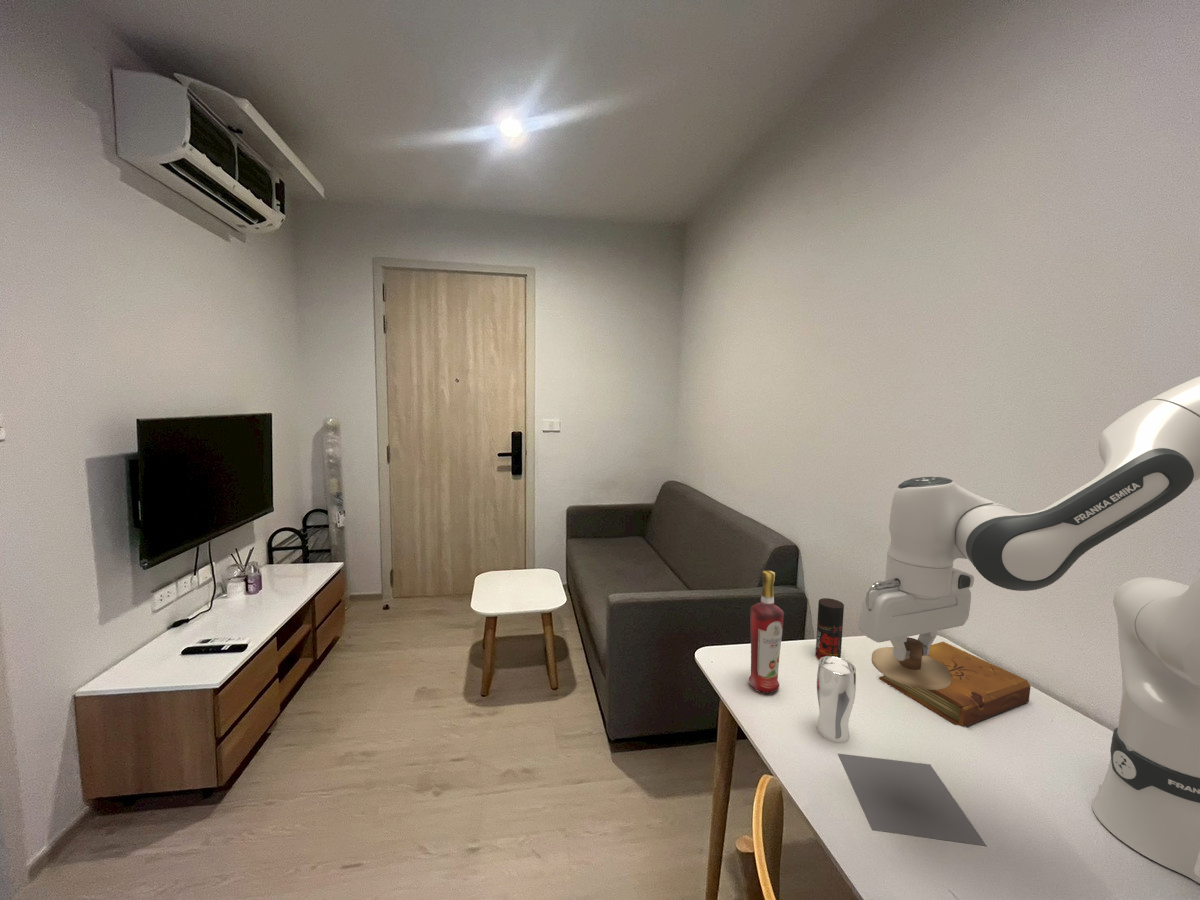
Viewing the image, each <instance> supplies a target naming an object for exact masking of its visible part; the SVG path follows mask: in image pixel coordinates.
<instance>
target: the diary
mask: <svg viewBox="0 0 1200 900" xmlns="http://www.w3.org/2000/svg"><path fill="white" fill-rule="evenodd" d="M927 656H929V657H931V658H933V659H935V660H937V661H938V662H940V663H941V664H943V665H944V666H945V667H946V668H947V669H948V670H949V672H950V673H951V683H950V685H949V686H948V687H946V688H944V689H938V690H928V689H920V688H915V687H911V686H908V685H905V684H902V683H899V682H897V681H895V680H892V679H890V678H889V677H887V676H885V675H884V674H883V675H882V676H879V677H878V680H879V681H882V682H883V683H885V684H887V685H888V686H890V687H892V688H893V689H895V690H897V691H898V692H899V693H901V694H903V695H905V696H906V697H908V698H909V699H911V700H913V701H914V702H916V703H918V704H920V705H921V706H923V707H925V708H926V709H928V710H929V711H931V712H933V713H935V714H936V715H938V716H939V717H941V718H942V719H944V720H946V721H947V722H949V723H951V724H952V725H954V726H961V727H962V728H964V727H968V726H970V725H973V724H975V723H978V722H979V721H983V720H985V719H988V718H990V717H992V716H996V715H998V714H1000V713H1003V712H1006V711H1008V710H1010V709H1014V708H1016V707H1018V706H1022V705H1023V704H1026V703H1028V702H1030V695H1031V686H1032V685H1031V684H1030V682H1029V681H1028V680H1027V679H1026V678H1024V677H1021V676H1019V675H1017V674H1014V673H1012V672H1010V671H1008V670H1006V669H1004V668H1001V667H999V666H997V665H996V664H993V663H992V662H988V661H986V660H985V659H982V658H980V657H979V656H975V655H974V654H971V653H970V652H966V651H965V650H963V649H960V648H958V647H956V646H955V645H952V644H949V643H947V642H945V641H939V642H937V643H934V644H933V643H932V644H931V646H930V651H929V655H927Z"/></svg>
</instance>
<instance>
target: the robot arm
mask: <svg viewBox="0 0 1200 900" xmlns="http://www.w3.org/2000/svg"><path fill="white" fill-rule="evenodd" d="M1098 453H1099V456H1100V459H1101V460H1102V462H1103V464H1104V468H1103V469H1102V471H1101V472H1100V473H1099V474H1098V475H1097V476H1095V477H1094V478H1093V479H1092V480H1090V481H1088V482H1086V483H1085V484H1083V485H1082V486H1080V487H1078V488H1077V489H1075V490H1073V491H1071V492H1070V493H1069V494H1066V495H1064V496H1063V497H1061V498H1060V499H1058V500H1057V501H1055V502H1053V503H1051V504H1050V505H1048V506H1046V507H1044V508H1043V509H1040V510H1037V511H1032V512H1023V513H1022V512H1019V511H1017V510H1016V509H1014V508H1012V507H1009V506H1007V505H1005V504H1002V503H1001V502H997V501H994V500H990V499H988V498H985V497H984V496H983V497H982V496H980V495H978V494H975V493H973V492H971V491H970V490H968V489H966V488H964V487H962V486H961V485H959V484H957V483H956V482H955V481H954V480H952V479H951V478H947V477H942V476H923V477H922V476H921V477H914V478H910V479H906V480H904V481H903V482H901V483H900V484H898V485H897V487H896V489H895V491H894V494H893V498H892V501H891V502H892V503H891V509H890V515H889V526H888V528H889V533H890V544H889V546H888V549H887V553H886V555H887V556H886V563H885V579H884V580H882V581H881V580H880V581H878V580H877V581H875V582H873V584H872V586H870V587H869V588H868V589H867V590H866V592H865V594H864V596H863V599H862V602H861V606H860V612H859V618H858V625H857V626H858V630H859V631H860V633H861V634H862V635H863V636H865V637H867V638H869V639H870V640H871V641H873V642H876V643H885V642H889V641H890V643H891V644H892V647H894V649H893V655H894V657H895V658H897V659H898V660H900V661H904V660H908V659H909V658H910V657H909V655H910V650H909V649H907V648H905V645H904V642H906V641H907V637H909V638H910V637H913V636H917V640H919V641H920V642H922V643H923V650H922V656H926V655H929V651H930V646H931V645H933V643H934V641H935V639H936V637H937V635H938V634H937V633H938V631H942V630H948V629H952V628H957V627H958V628H959V627H962V626H964V625H965V624H966V623H967V622H968V620H969V616H970V611H971V601H972V592H971V590H970V588H973V586H974V582H975V577H974V575H973V574H970V573H968V572H965V571H963V570H960V569H958V568H954V561H955V560H957V559H965V560H966V559H967V560H968V561H969V562H970V563H971V564H972V565H973V566H974V568H975V570H977V572H978V573H979V575H981V577H982V578H984V579H985V580H987V581H988V582H990V583H992V584H993V585H995V586H998V587H999V588H1002V589H1006V590H1009V591H1018V592H1029V591H1037V590H1040V589H1043V588H1046V587H1048V586H1051V585H1052V584H1054V583H1055V582H1057V581H1059V579H1061V578H1062V577H1063V576H1065V574H1066V573H1067V572H1068V570H1070V568H1071V567H1072V566H1073V565H1074V564H1075V562H1077V561H1078V559H1080V557H1082V556H1083V555H1084V554H1085V553H1087V552H1088V551H1090V550H1091V549H1093V548H1094V547H1096V546H1097V545H1100V544H1101V543H1102V542H1105V541H1106V540H1108V539H1110V538H1112V537H1113V536H1115V535H1117V534H1118V533H1120V532H1121V531H1124V530H1125V529H1127V528H1129V527H1130V526H1132V525H1134V524H1136V523H1137V522H1139V521H1141V520H1142V519H1144V518H1147V516H1149V515H1150V514H1152V513H1154V512H1156V511H1157V510H1159V509H1161V508H1163V507H1164V506H1166V505H1167V504H1169V503H1170V502H1172V501H1173V500H1174V499H1176V498H1177V497H1179V496H1180V495H1182V493H1184V492H1185V491H1186V490H1187V489H1188V488H1189V487H1190V485H1192V484H1193V483H1195V482H1196V481H1198V480H1200V375H1199V376H1197V377H1194V378H1192V379H1189V380H1187V381H1185V382H1182V383H1181V384H1178V385H1176V386H1174V387H1172V388H1170V389H1167V390H1165V391H1164V392H1161V393H1159V394H1158V395H1155V396H1154V397H1152V398H1150V399H1148V400H1146V401H1145V402H1143V403H1141V404H1140V405H1138V406H1137V405H1136V407H1134V408H1132V409H1130V410H1128V411H1127V412H1126V413H1123V414H1122V415H1120V416H1119V417H1118V418H1117V419H1116V420H1114V421H1113V422H1112V423H1111V424H1109V425H1108V426H1107V427H1106V428H1105V429H1104V430H1102V431H1101V434H1100V436H1099V439H1098ZM1112 601H1113V607H1114V611H1115V614H1116V618H1117V631H1118V632H1117V633H1118V634H1117V635H1118V649H1119V660H1120V666H1121V667H1120V668H1121V677H1122V679H1121V680H1122V689H1121V699H1120V707H1119V715H1118V724H1117V727H1116V728H1114V730H1113V732H1112V737H1111V743H1110V748H1109V750H1110V752H1109V753H1110V761H1109V763H1108V768H1107V770H1106V773H1105V777H1104V779H1103V780H1102V781H1101V782H1100V784H1099V787H1098V788H1099V789H1098V792H1097V794H1096V796H1095V797H1094V798H1093V800H1092V803H1091V807H1092V811H1093V813H1094V814H1095V816H1096V818H1097V819H1098V821H1099V822H1100V823H1101V824H1102V825H1103V826H1104V827H1105V828H1106V829H1107V830H1108V831H1109V832H1111V833H1112V834H1113V835H1114V836H1115V837H1116V838H1117V839H1118V840H1120V841H1121V842H1123V843H1124V844H1126V845H1127V846H1128V847H1130V848H1131V849H1132V850H1135V851H1136V852H1137V853H1139V854H1141V855H1143V856H1145V857H1147V858H1148V859H1150V860H1152V861H1153V862H1156V863H1157V864H1160V865H1161V866H1163V867H1166V868H1168V869H1170V870H1172V871H1174V872H1177V873H1178V874H1180V875H1183V876H1184V877H1185V876H1186V877H1188V878H1189V879H1191V880H1193V881H1194V882H1196V883H1198V884H1199V885H1200V569H1199V571H1198V572H1197V574H1196V576H1195V577H1194V579H1193V581H1192V582H1191V584H1190V585H1187V584H1185V583H1182V582H1181V583H1180V582H1178V581H1174V580H1170V579H1166V578H1161V577H1151V576H1142V577H1137V578H1132V579H1130V580H1128V581H1126V582H1124V583H1122V584H1121V585H1119V587H1118V588H1116V590H1115V592H1114V594H1113V600H1112Z"/></svg>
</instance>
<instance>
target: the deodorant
mask: <svg viewBox="0 0 1200 900" xmlns="http://www.w3.org/2000/svg"><path fill="white" fill-rule="evenodd" d="M817 604H818V608H817V621H816V622H817V624H816V643H815V657H816V659H817V660H818V661H819V660H820V658H822V657H825V656H834V657H839V658H842V645H843V644H842V643H843V630H844V629H843V628H844V627H843V626H844V615H845V614H844V611H845V604H844V603H843V602H842V601H840V600H838V599H834V598H829V597H828V598H826V597H825V598H820V599H818V603H817Z"/></svg>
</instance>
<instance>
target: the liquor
mask: <svg viewBox="0 0 1200 900" xmlns="http://www.w3.org/2000/svg"><path fill="white" fill-rule="evenodd" d="M775 577H776V572H774V571H772V570H763V571H762V577H761V578H762V579H761V580H762V589H761V590H762V591H761V595H760V596H761V597H760V602H756V603H755V604H753V605H751V606H750V629H749V630H750V675H749V677H748V682H749V684H750V685H751V686H752V688H754V689H755V690H756V691H757V690H758V691H757V692H759V691H760V693H762V692H764V693H763V694H771V693H772V692H774V691H776V690H778V689H779V688H780V682H779V679H778V677H779V668H780V667H779V666H780V655H781V646H782V637H783V629H784V627H783V626H784V617H785V612H784V610H783V609H781V608H780V606H778V605H776V604H775V596H774V595H775V593H774V585H775V584H774V583H775V581H776V580H775V579H776V578H775ZM770 692H771V693H770Z"/></svg>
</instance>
